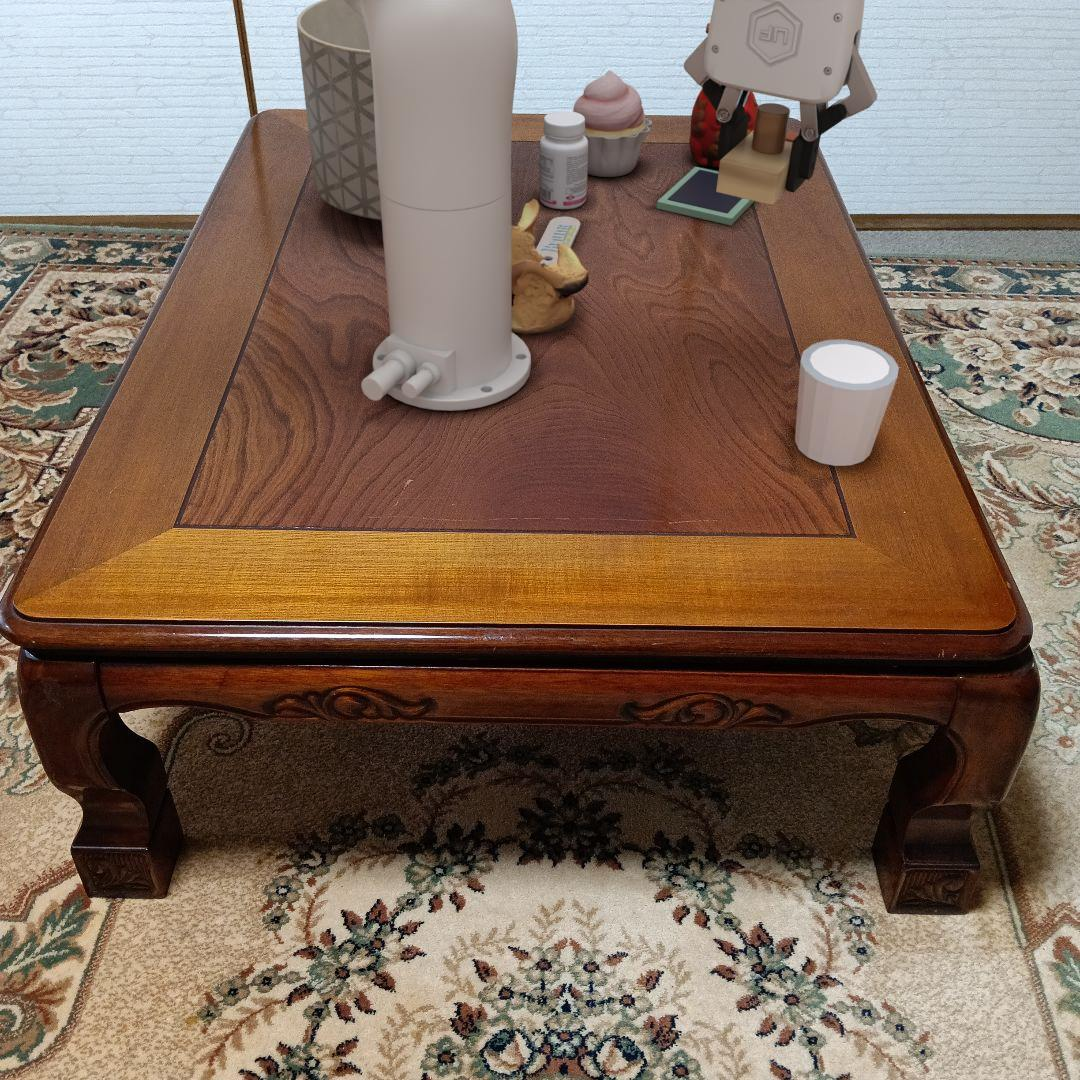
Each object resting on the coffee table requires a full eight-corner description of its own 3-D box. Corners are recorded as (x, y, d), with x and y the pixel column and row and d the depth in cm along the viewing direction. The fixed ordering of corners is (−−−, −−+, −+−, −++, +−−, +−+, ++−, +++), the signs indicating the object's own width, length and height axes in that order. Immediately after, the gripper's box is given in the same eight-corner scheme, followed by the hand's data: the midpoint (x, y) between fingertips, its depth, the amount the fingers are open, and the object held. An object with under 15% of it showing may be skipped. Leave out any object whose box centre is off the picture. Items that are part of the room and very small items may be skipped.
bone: (443, 321, 103) (439, 229, 97) (495, 273, 110) (494, 185, 104) (571, 354, 99) (574, 260, 94) (617, 302, 106) (623, 212, 100)
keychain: (561, 263, 110) (528, 260, 110) (560, 269, 110) (528, 266, 110) (583, 215, 117) (553, 212, 118) (583, 221, 118) (553, 217, 118)
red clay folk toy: (700, 175, 127) (715, 27, 118) (675, 150, 132) (688, 6, 123) (766, 168, 129) (786, 21, 119) (739, 143, 134) (757, 1, 124)
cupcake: (643, 148, 132) (650, 55, 126) (654, 183, 125) (662, 86, 119) (558, 149, 132) (561, 55, 126) (565, 184, 125) (568, 87, 118)
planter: (422, 271, 110) (411, 68, 98) (276, 214, 118) (251, 21, 107) (547, 202, 121) (551, 13, 110) (406, 155, 130) (396, -25, 118)
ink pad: (731, 226, 118) (732, 217, 117) (656, 208, 121) (656, 200, 120) (766, 189, 125) (767, 180, 124) (694, 173, 127) (695, 165, 127)
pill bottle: (587, 192, 123) (591, 110, 118) (584, 212, 120) (587, 128, 114) (541, 189, 124) (542, 107, 118) (536, 209, 120) (537, 125, 115)
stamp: (772, 205, 88) (785, 132, 85) (715, 192, 90) (725, 119, 86) (807, 169, 94) (820, 98, 90) (752, 157, 95) (763, 86, 92)
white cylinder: (811, 477, 86) (828, 395, 82) (771, 425, 91) (784, 344, 87) (897, 462, 88) (918, 381, 83) (852, 412, 93) (870, 332, 88)
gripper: (665, -93, 81) (641, 170, 92) (915, -55, 75) (856, 222, 86) (707, -113, 86) (679, 139, 97) (944, -78, 80) (884, 185, 92)
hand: (763, 175), depth 92 cm, fingers closed on stamp, 4 cm apart
